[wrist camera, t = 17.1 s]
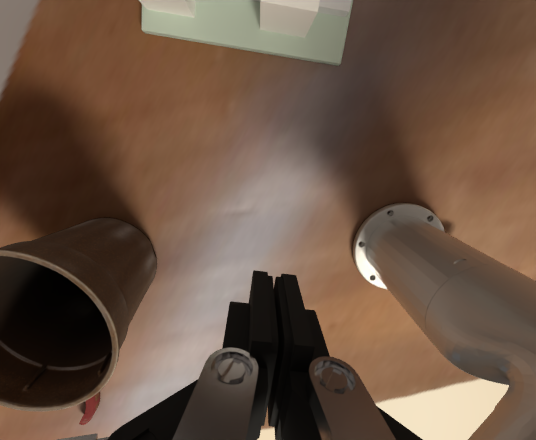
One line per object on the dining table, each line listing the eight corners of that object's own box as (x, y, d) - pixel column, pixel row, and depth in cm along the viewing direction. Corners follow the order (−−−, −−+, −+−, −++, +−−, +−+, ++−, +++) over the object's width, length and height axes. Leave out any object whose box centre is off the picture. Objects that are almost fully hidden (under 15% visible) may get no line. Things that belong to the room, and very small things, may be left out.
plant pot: (39, 287, 40) (-96, 383, 25) (63, 182, 36) (-81, 219, 21) (152, 323, 43) (92, 431, 27) (187, 228, 39) (140, 293, 23)
